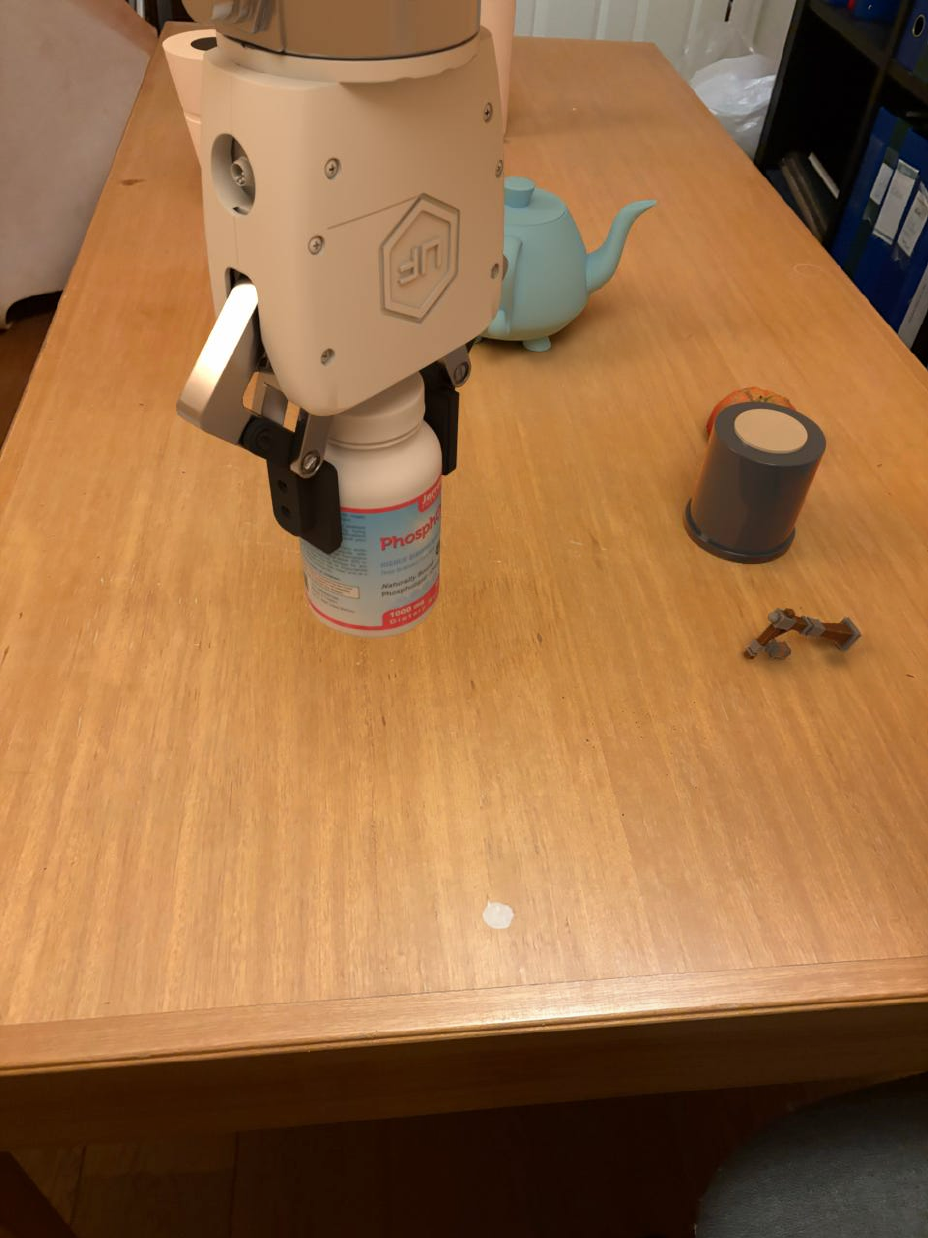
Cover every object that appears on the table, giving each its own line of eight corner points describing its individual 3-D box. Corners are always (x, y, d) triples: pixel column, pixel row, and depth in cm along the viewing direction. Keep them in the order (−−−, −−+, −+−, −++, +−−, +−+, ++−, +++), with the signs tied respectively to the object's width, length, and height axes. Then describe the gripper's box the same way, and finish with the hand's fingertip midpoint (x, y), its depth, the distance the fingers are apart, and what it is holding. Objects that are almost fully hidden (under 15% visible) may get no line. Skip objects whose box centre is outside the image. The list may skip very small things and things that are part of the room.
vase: (508, 124, 134) (522, -43, 120) (502, 142, 129) (516, -30, 115) (431, 116, 135) (435, -51, 121) (422, 133, 130) (425, -39, 116)
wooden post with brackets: (729, 645, 63) (770, 597, 61) (808, 658, 67) (850, 614, 65) (742, 664, 62) (784, 617, 60) (821, 676, 66) (864, 632, 64)
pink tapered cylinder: (269, 245, 104) (250, 64, 91) (177, 234, 104) (145, 53, 91) (296, 207, 111) (282, 34, 98) (210, 197, 112) (185, 24, 99)
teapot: (385, 308, 95) (383, 165, 85) (539, 269, 103) (554, 134, 93) (471, 385, 86) (481, 235, 76) (633, 336, 94) (661, 194, 84)
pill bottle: (412, 659, 40) (411, 443, 32) (284, 624, 41) (252, 407, 33) (457, 570, 44) (466, 359, 36) (339, 541, 46) (322, 329, 37)
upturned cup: (811, 526, 74) (852, 428, 67) (760, 580, 69) (798, 481, 63) (717, 479, 78) (746, 382, 71) (662, 528, 73) (688, 429, 66)
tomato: (680, 417, 81) (743, 354, 79) (706, 440, 87) (766, 381, 84) (739, 478, 77) (808, 413, 75) (762, 498, 83) (827, 438, 81)
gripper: (180, 81, 19) (273, 656, 32) (629, -36, 29) (563, 444, 42) (-14, 9, 23) (141, 558, 36) (448, -74, 32) (438, 382, 45)
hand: (369, 493), depth 39 cm, fingers closed on pill bottle, 6 cm apart
